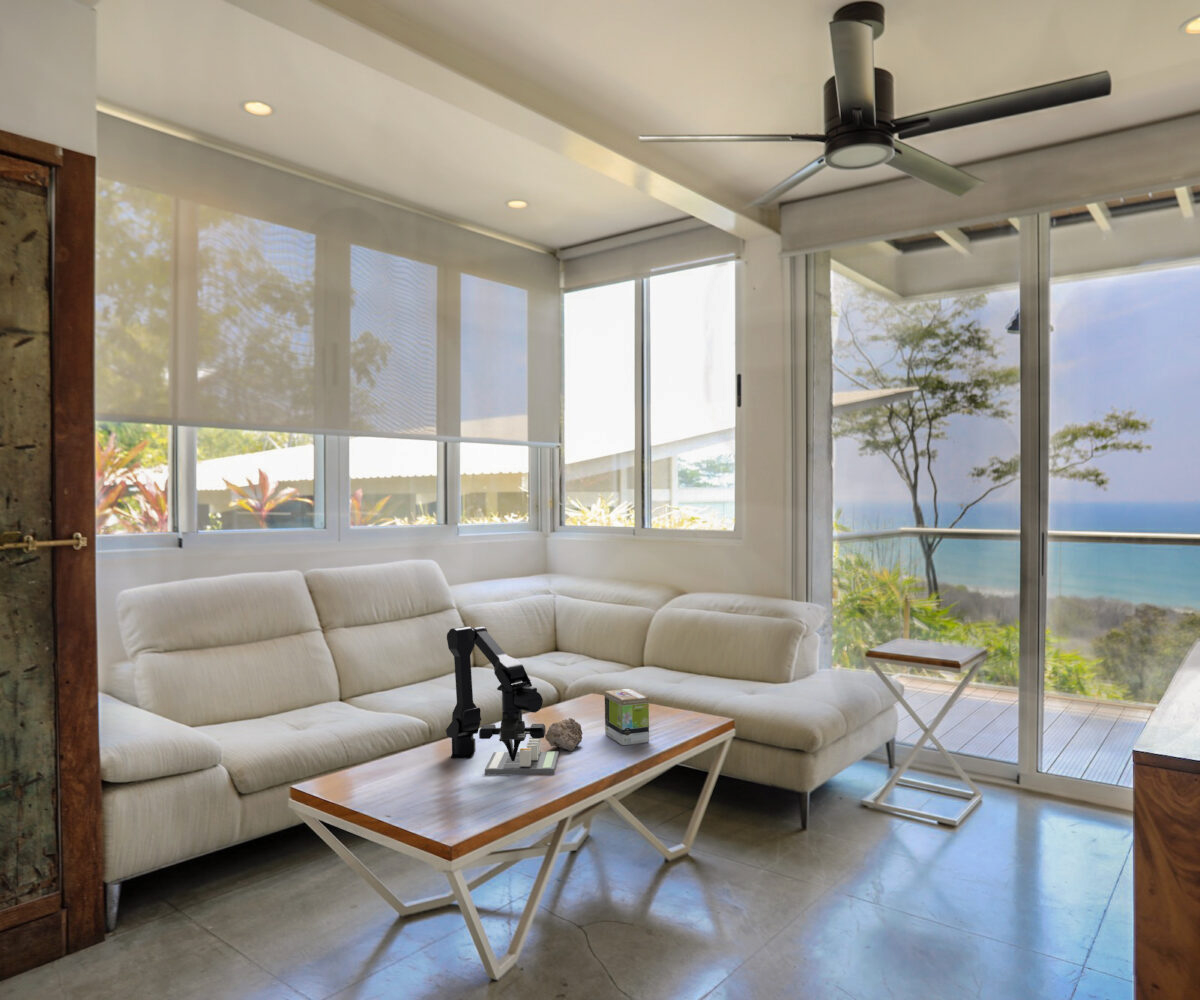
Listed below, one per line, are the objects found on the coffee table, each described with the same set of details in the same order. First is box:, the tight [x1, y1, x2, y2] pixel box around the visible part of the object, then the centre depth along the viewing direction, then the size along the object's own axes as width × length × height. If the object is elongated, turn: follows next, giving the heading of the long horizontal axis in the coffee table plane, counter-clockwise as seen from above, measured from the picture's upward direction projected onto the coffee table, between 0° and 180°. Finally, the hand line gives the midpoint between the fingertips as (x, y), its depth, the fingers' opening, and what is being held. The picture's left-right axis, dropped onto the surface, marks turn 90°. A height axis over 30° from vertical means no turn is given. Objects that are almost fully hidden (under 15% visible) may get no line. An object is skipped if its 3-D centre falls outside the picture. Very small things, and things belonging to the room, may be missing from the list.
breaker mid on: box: [526, 741, 538, 760], centre depth 244 cm, size 3×3×5 cm
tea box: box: [604, 688, 650, 746], centre depth 269 cm, size 15×10×15 cm
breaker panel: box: [484, 751, 560, 776], centre depth 244 cm, size 20×16×2 cm
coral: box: [544, 717, 583, 752], centre depth 261 cm, size 14×9×10 cm, turn 141°
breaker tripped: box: [518, 747, 531, 766], centre depth 238 cm, size 3×3×5 cm
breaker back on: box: [528, 736, 541, 754], centre depth 249 cm, size 3×3×5 cm
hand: (513, 760), depth 238 cm, fingers closed
